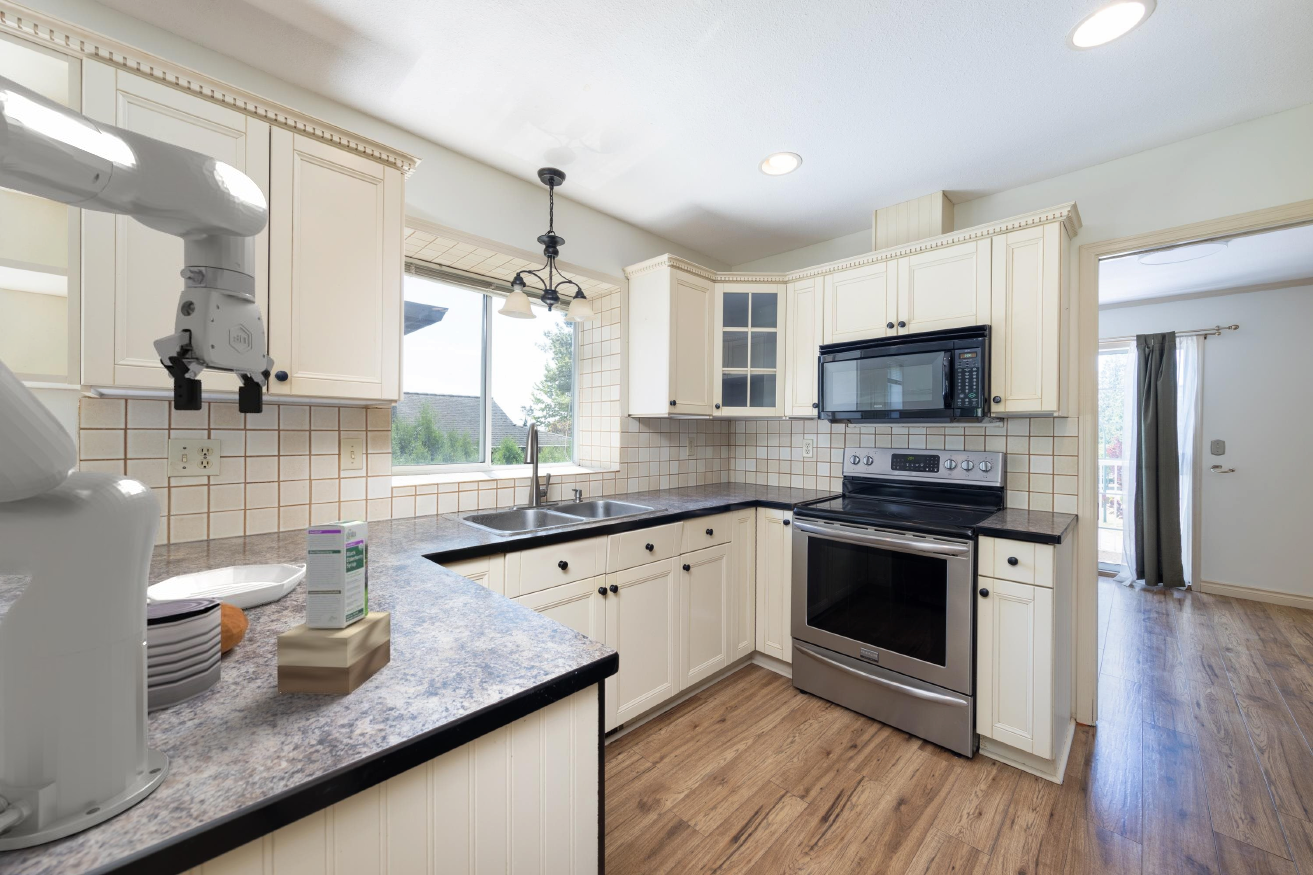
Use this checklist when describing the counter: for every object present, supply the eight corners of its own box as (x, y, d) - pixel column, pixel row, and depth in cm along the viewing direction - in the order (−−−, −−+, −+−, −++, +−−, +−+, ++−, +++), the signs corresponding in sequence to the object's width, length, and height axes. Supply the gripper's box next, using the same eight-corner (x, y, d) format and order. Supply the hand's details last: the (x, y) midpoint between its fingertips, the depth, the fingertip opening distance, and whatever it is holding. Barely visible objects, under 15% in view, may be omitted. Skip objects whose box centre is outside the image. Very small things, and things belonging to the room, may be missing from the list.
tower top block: (347, 667, 69) (347, 637, 69) (277, 665, 70) (277, 636, 70) (390, 637, 79) (390, 612, 79) (328, 636, 80) (328, 610, 80)
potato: (243, 635, 89) (243, 592, 89) (254, 655, 81) (254, 608, 81) (170, 651, 83) (170, 605, 83) (174, 674, 75) (174, 623, 75)
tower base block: (349, 696, 69) (349, 667, 69) (277, 695, 70) (277, 666, 70) (390, 663, 79) (390, 637, 79) (327, 662, 80) (327, 636, 80)
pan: (149, 636, 89) (148, 611, 89) (106, 609, 102) (105, 588, 102) (337, 590, 116) (337, 571, 116) (283, 573, 129) (283, 556, 129)
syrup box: (344, 628, 72) (346, 524, 72) (303, 628, 72) (305, 524, 73) (368, 616, 77) (370, 519, 78) (330, 616, 78) (332, 519, 78)
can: (80, 721, 63) (80, 623, 63) (143, 678, 74) (143, 595, 74) (193, 707, 66) (193, 614, 66) (237, 668, 77) (237, 588, 77)
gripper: (187, 268, 62) (187, 409, 62) (294, 304, 80) (294, 414, 80) (128, 268, 63) (128, 409, 63) (247, 304, 80) (247, 414, 80)
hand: (221, 411), depth 71 cm, fingers open, 9 cm apart
